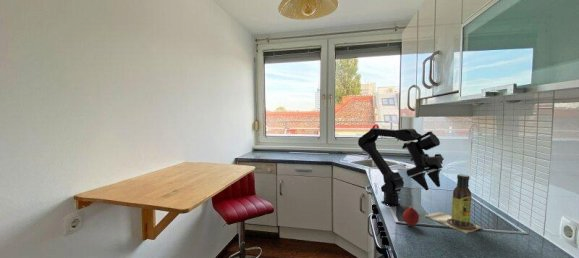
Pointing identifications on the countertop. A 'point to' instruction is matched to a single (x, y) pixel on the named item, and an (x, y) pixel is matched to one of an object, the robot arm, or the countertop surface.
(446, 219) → the beige flat board
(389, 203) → the robot arm
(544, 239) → the countertop surface
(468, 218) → the sauce bottle
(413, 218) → the onion
